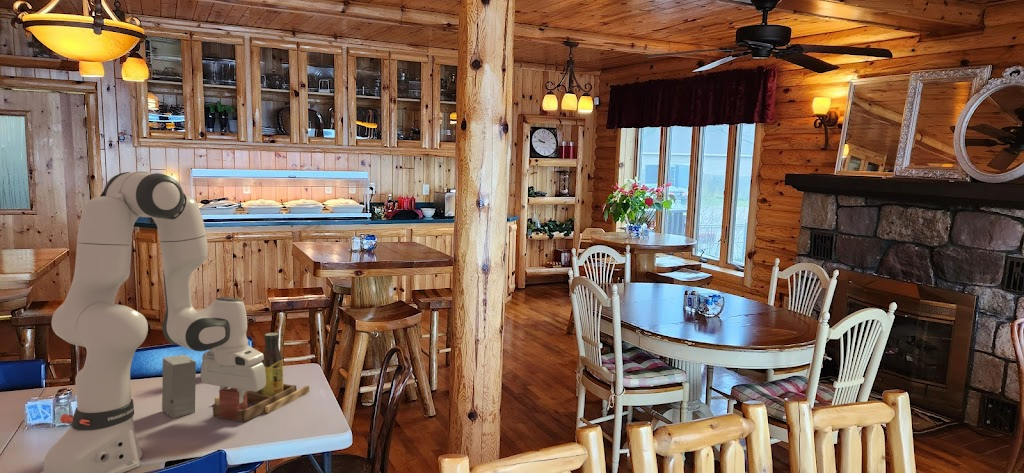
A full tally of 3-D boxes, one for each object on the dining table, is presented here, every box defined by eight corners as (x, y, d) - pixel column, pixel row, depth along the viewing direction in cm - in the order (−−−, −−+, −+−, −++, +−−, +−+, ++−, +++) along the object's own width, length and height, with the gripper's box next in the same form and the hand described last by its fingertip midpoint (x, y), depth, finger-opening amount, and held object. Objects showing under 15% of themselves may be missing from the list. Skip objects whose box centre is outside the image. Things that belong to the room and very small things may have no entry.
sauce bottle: (277, 402, 200) (274, 337, 197) (257, 400, 201) (255, 336, 198) (287, 394, 206) (285, 332, 204) (269, 393, 207) (266, 331, 205)
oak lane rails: (267, 413, 191) (267, 407, 191) (214, 404, 197) (214, 398, 197) (309, 392, 209) (309, 385, 208) (259, 384, 215) (259, 378, 215)
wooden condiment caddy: (244, 421, 184) (243, 394, 183) (213, 416, 188) (212, 389, 187) (296, 395, 205) (295, 370, 204) (267, 390, 209) (266, 365, 208)
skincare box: (161, 411, 192) (158, 358, 190) (187, 404, 197) (184, 352, 195) (172, 419, 186) (170, 364, 184) (199, 412, 191) (196, 359, 190)
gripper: (193, 353, 186) (196, 400, 188) (252, 361, 179) (254, 410, 181) (211, 347, 192) (213, 393, 194) (268, 354, 185) (270, 402, 187)
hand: (233, 401), depth 187 cm, fingers closed on wooden condiment caddy, 2 cm apart
